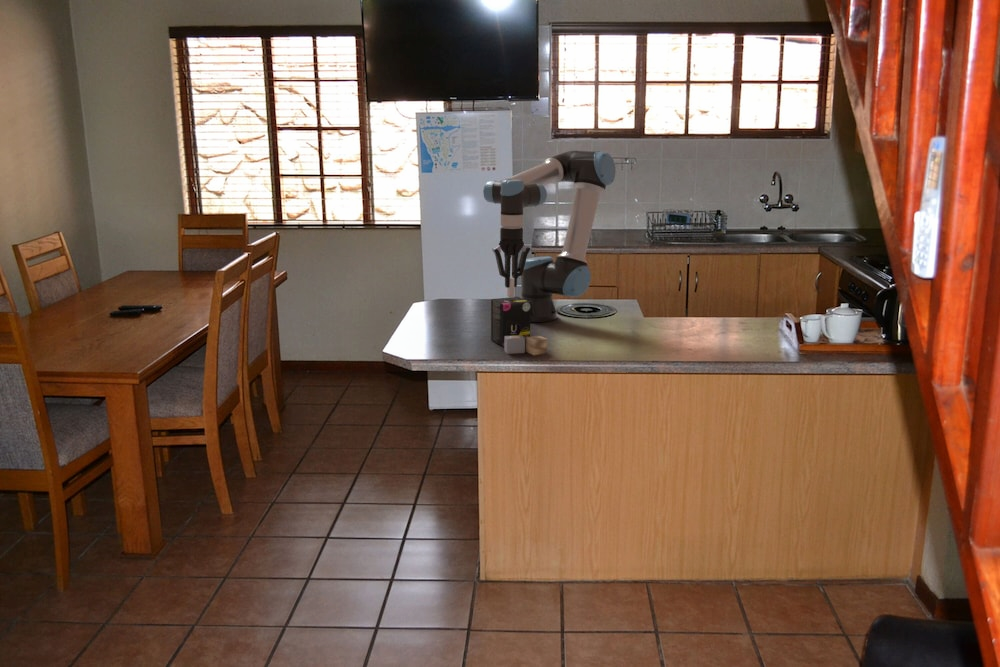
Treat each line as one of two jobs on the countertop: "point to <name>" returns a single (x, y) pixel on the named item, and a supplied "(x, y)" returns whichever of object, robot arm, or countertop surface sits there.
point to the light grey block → (514, 344)
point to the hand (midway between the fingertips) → (510, 296)
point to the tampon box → (510, 318)
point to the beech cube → (536, 345)
